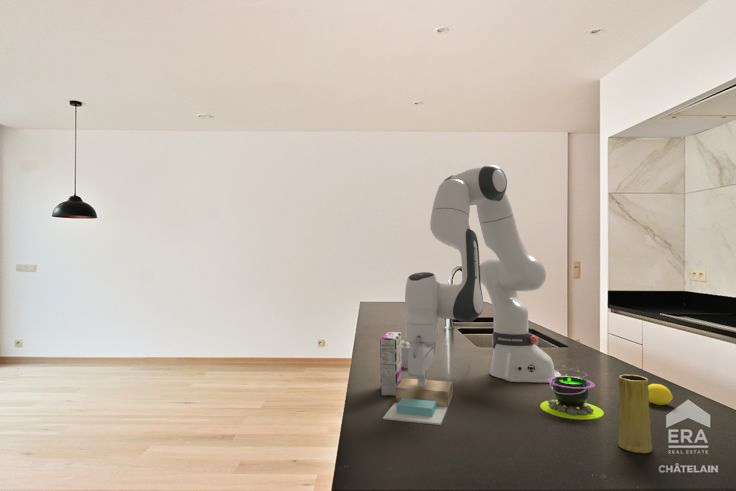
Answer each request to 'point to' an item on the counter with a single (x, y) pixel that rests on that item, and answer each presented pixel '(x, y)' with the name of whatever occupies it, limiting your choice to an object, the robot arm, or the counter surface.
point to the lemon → (659, 394)
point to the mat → (416, 416)
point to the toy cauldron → (571, 399)
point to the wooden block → (425, 391)
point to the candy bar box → (390, 362)
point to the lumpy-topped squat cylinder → (405, 352)
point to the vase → (634, 414)
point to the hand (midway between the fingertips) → (422, 385)
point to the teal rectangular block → (416, 407)
